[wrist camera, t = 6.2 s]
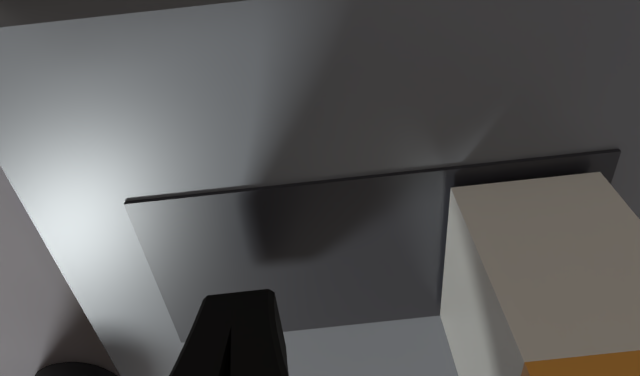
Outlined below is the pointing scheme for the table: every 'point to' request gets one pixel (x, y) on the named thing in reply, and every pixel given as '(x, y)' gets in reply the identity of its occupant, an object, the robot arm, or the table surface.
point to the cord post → (73, 370)
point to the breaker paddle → (542, 279)
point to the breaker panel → (297, 154)
